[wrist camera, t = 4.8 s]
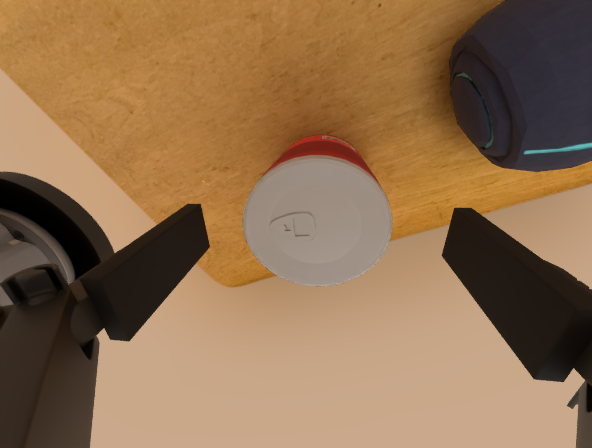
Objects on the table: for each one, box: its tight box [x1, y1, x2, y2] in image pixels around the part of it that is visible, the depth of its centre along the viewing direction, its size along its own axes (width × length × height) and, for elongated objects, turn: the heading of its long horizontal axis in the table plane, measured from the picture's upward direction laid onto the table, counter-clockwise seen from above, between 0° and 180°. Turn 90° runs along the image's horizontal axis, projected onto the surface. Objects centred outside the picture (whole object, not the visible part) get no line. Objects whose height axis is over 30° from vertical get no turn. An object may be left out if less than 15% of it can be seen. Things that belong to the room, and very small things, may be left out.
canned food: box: [243, 135, 392, 286], centre depth 18 cm, size 8×8×11 cm
